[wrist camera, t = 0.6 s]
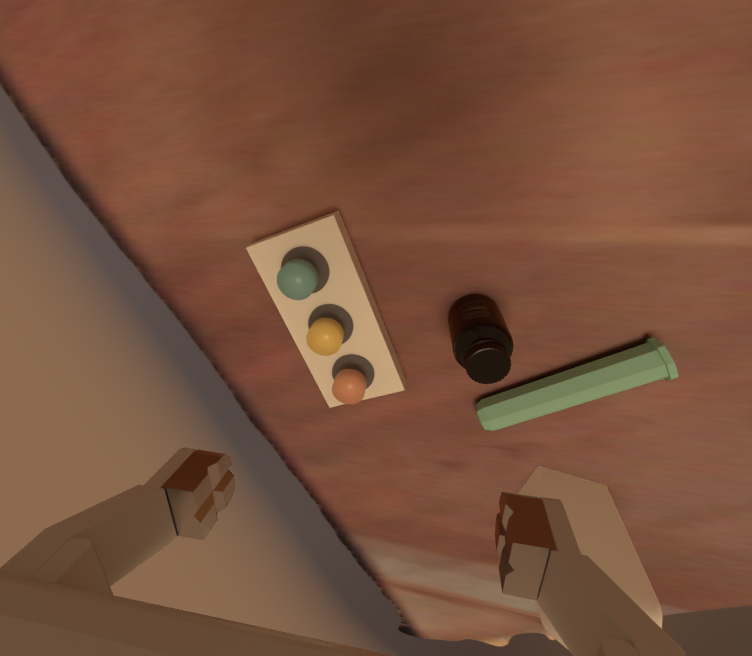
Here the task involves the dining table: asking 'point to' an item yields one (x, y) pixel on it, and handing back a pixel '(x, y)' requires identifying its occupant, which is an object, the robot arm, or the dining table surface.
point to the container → (578, 385)
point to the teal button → (297, 279)
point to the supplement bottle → (480, 339)
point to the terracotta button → (349, 386)
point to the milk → (596, 536)
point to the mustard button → (325, 336)
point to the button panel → (331, 305)
